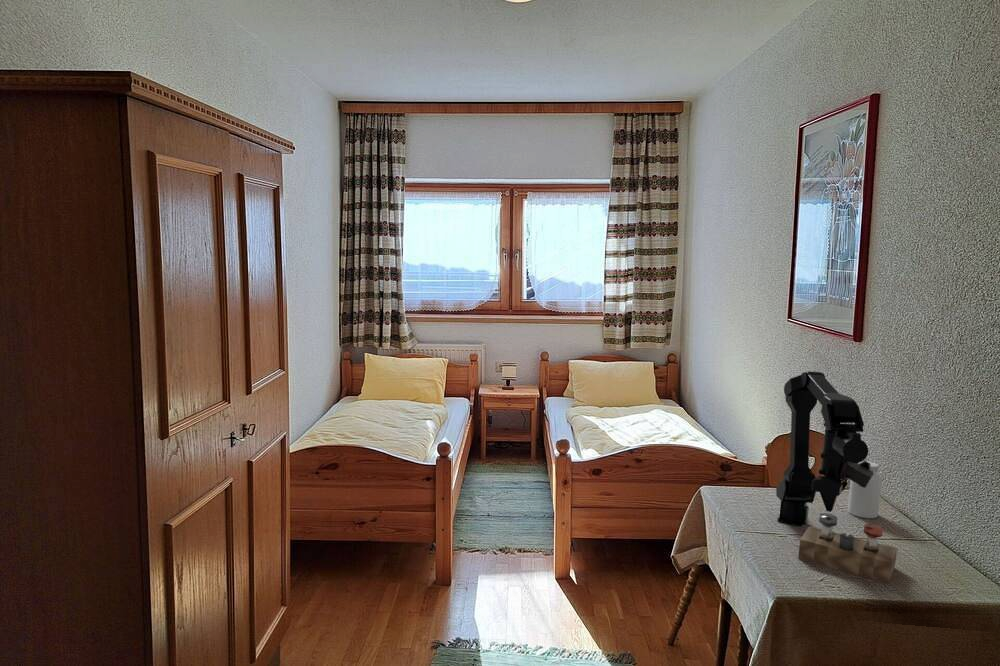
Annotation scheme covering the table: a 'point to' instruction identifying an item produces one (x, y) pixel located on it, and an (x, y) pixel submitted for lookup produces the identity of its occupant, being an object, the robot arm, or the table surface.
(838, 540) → the mount
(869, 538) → the knob right
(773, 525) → the table surface
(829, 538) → the knob left
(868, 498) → the pill bottle
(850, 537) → the dial
